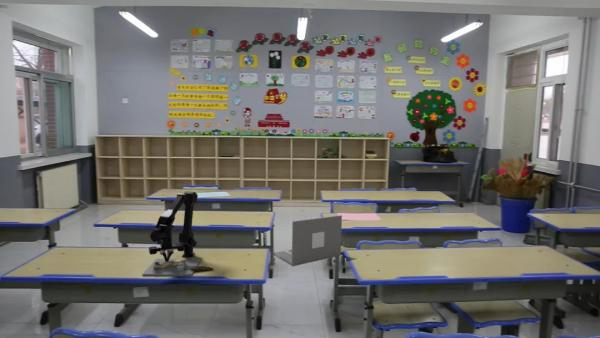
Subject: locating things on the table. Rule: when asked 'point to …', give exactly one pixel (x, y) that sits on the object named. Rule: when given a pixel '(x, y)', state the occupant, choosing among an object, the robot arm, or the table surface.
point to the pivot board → (172, 269)
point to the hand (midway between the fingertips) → (166, 263)
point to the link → (167, 263)
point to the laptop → (314, 240)
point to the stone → (200, 268)
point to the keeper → (181, 266)
